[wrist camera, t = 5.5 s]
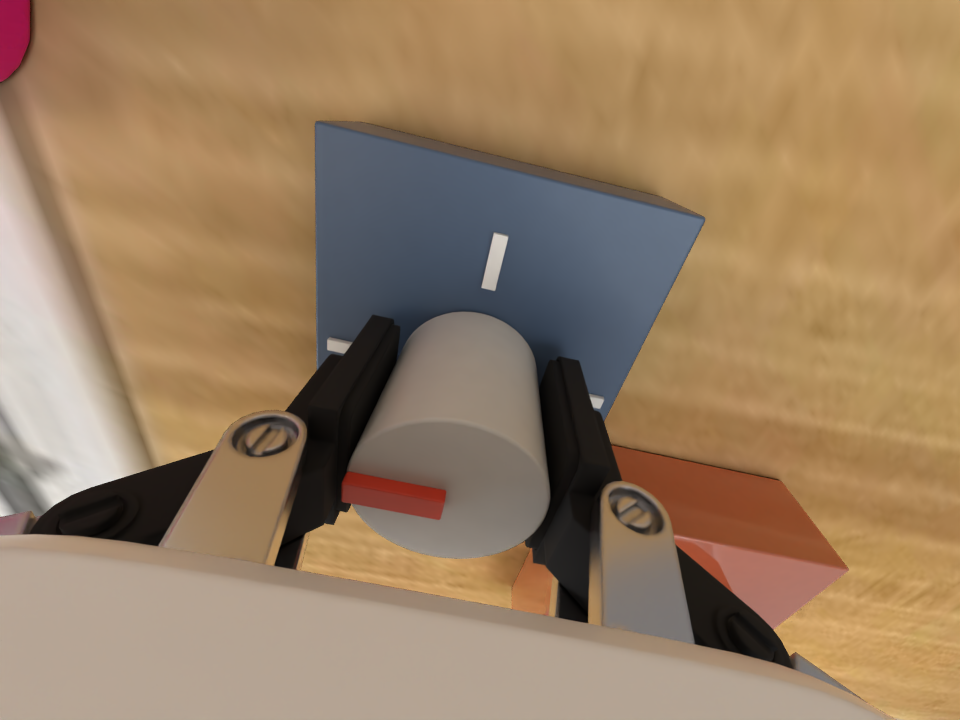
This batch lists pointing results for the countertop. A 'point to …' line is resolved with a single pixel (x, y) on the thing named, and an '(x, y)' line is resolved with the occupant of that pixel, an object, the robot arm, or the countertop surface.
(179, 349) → the countertop surface
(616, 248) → the tap panel
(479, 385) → the grey dial knob
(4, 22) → the pepper mill
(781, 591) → the orange button housing
